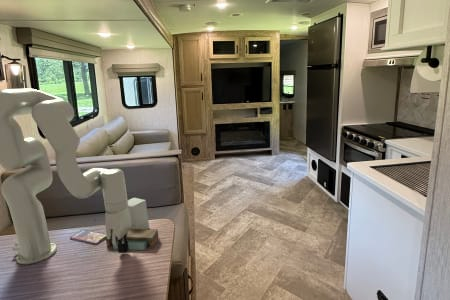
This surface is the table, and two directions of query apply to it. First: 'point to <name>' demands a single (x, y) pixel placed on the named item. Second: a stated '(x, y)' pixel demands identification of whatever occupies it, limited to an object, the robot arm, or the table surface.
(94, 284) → the table surface
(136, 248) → the mint green tile
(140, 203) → the supplement box
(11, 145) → the robot arm
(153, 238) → the walnut stand
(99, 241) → the smartphone
